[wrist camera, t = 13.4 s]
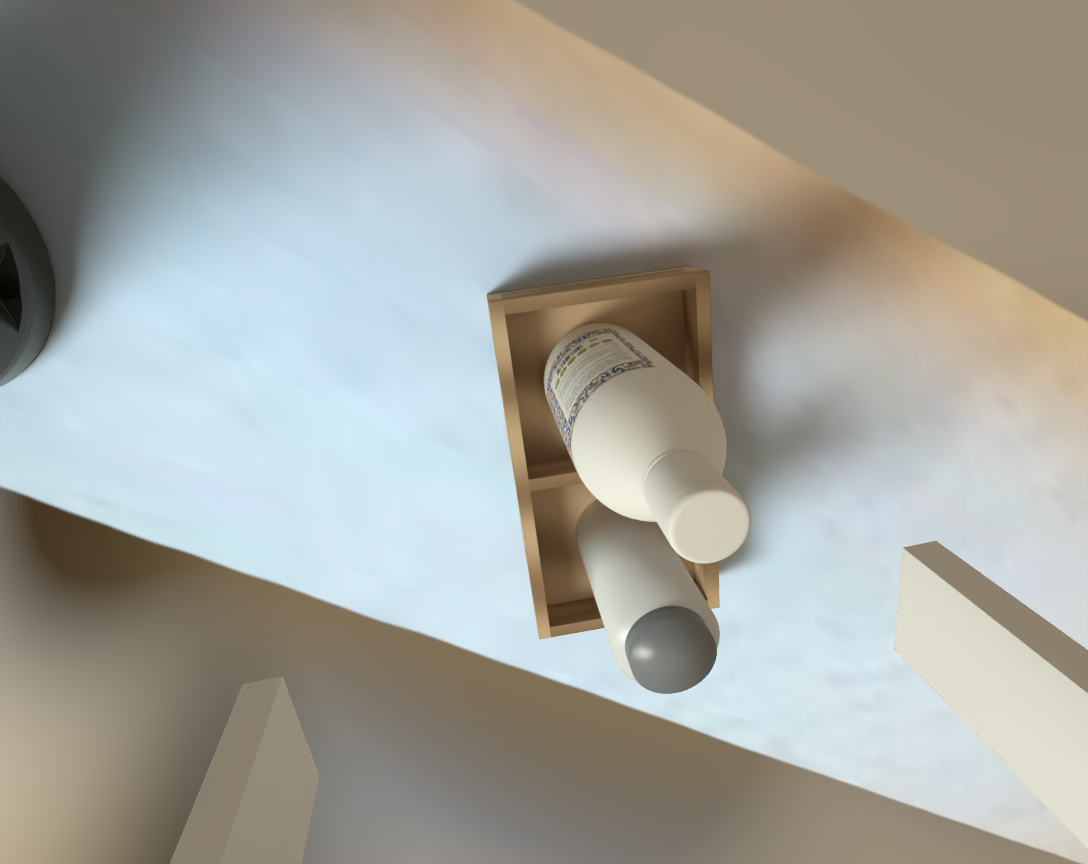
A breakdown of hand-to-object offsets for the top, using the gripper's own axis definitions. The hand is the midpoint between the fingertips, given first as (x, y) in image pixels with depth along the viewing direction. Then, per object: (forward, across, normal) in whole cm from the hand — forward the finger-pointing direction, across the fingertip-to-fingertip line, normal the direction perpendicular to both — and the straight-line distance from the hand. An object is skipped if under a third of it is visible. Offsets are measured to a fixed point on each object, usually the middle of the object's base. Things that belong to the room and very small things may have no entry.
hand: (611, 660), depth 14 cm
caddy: (+28, +6, -8) cm, 30 cm away
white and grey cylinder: (+27, +6, -14) cm, 31 cm away
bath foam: (+28, +6, -2) cm, 28 cm away
